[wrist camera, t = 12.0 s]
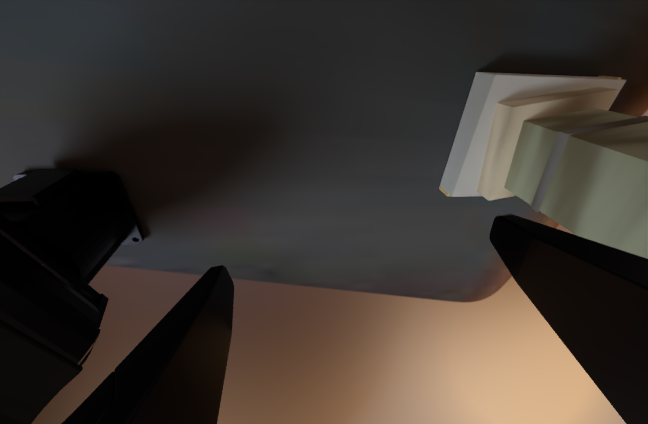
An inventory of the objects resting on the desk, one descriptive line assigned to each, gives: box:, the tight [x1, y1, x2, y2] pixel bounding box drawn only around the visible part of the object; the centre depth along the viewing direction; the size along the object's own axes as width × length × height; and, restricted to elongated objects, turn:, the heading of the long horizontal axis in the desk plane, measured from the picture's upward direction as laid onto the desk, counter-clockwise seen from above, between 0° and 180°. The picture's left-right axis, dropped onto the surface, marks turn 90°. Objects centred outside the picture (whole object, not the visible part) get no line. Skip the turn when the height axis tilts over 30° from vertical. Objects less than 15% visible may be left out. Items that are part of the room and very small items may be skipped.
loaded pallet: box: [477, 86, 648, 259], centre depth 14 cm, size 7×7×13 cm
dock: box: [439, 72, 626, 197], centre depth 21 cm, size 9×10×2 cm
